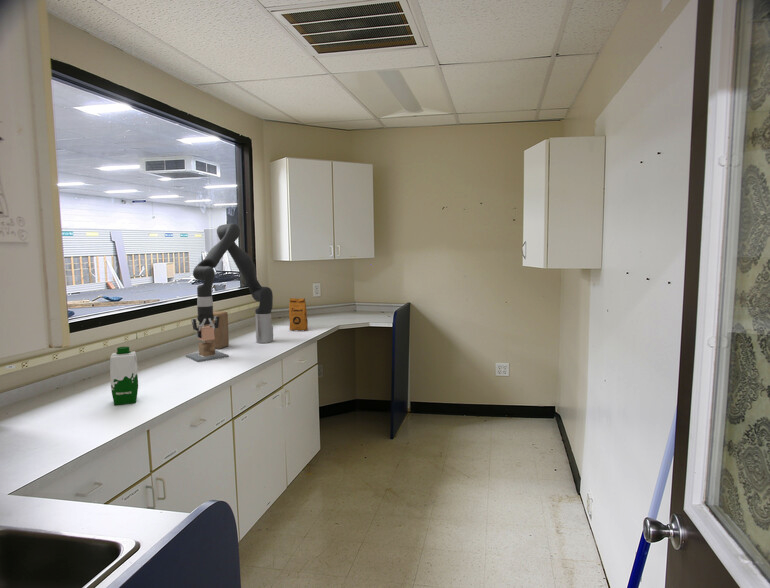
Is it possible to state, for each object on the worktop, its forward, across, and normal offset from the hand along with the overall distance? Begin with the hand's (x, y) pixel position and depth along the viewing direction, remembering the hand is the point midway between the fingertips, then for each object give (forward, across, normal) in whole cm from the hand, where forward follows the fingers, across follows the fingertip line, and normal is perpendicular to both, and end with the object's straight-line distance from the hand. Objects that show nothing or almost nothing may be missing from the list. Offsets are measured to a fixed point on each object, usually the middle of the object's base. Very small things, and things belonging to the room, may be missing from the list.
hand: (206, 337), depth 252 cm
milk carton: (+11, +52, +51) cm, 74 cm away
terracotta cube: (+1, 0, 0) cm, 1 cm away
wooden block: (+11, -14, -20) cm, 27 cm away
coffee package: (+10, -78, -35) cm, 86 cm away
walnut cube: (+9, 0, 0) cm, 9 cm away
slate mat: (+10, 0, 0) cm, 10 cm away
